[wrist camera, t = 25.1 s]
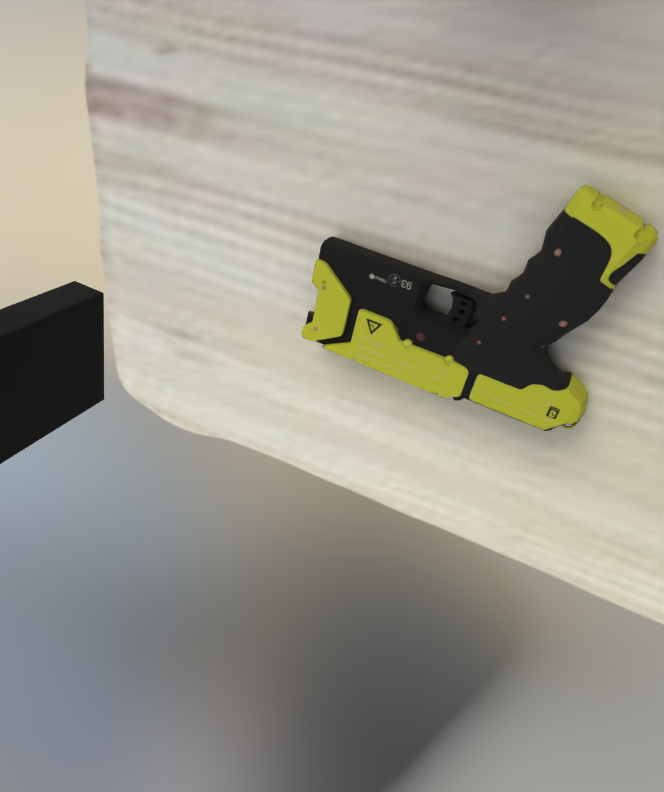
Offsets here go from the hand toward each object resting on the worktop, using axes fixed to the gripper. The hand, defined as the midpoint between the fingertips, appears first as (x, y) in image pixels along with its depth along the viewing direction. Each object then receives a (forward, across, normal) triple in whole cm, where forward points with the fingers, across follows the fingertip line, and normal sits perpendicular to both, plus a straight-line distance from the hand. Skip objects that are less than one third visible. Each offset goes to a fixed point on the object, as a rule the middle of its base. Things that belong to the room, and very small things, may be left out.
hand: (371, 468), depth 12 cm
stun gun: (+29, -3, -6) cm, 30 cm away
